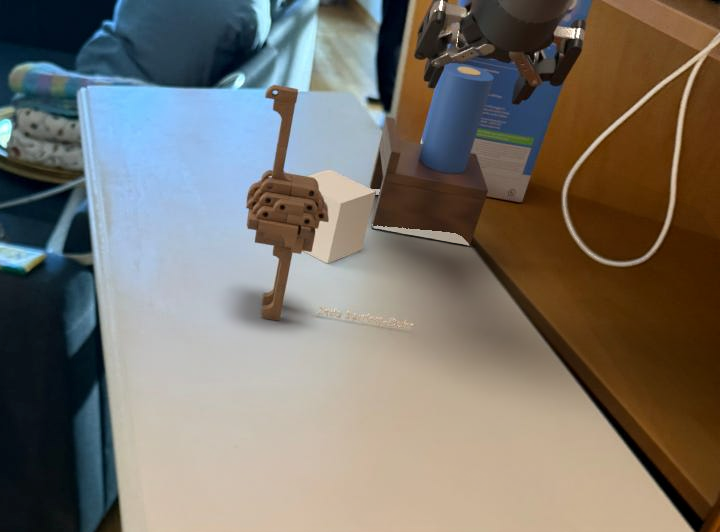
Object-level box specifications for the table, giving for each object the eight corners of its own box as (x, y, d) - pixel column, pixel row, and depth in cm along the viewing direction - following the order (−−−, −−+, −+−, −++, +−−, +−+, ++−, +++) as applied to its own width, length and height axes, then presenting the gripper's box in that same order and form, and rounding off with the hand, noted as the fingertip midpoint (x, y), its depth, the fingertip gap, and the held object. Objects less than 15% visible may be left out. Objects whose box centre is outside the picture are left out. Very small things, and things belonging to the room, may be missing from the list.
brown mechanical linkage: (229, 321, 82) (263, 97, 69) (232, 287, 87) (265, 71, 74) (415, 351, 84) (482, 137, 71) (408, 316, 88) (470, 109, 75)
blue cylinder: (462, 160, 103) (490, 68, 97) (467, 177, 100) (497, 83, 93) (416, 151, 103) (442, 58, 96) (420, 168, 99) (446, 73, 93)
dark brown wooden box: (459, 207, 110) (482, 134, 104) (469, 247, 102) (494, 170, 96) (368, 190, 109) (386, 116, 103) (371, 229, 101) (391, 151, 96)
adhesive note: (316, 228, 99) (329, 169, 95) (361, 250, 97) (376, 191, 93) (281, 240, 96) (293, 179, 91) (327, 264, 93) (341, 203, 89)
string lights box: (513, 182, 119) (600, -66, 100) (522, 205, 113) (616, -52, 95) (412, 163, 118) (481, -91, 99) (416, 185, 112) (489, -78, 94)
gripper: (627, -55, 76) (549, 63, 92) (458, -91, 75) (409, 35, 91) (613, 36, 76) (537, 138, 92) (443, 2, 75) (397, 111, 91)
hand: (473, 87), depth 92 cm, fingers open, 8 cm apart
